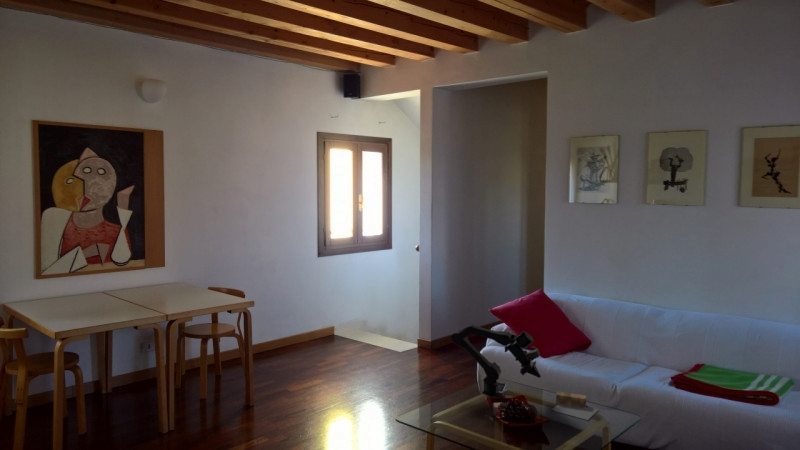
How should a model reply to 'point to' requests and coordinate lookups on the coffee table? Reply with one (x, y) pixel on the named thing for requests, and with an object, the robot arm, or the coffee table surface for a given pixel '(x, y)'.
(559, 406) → the mat
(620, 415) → the coffee table surface
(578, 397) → the block
